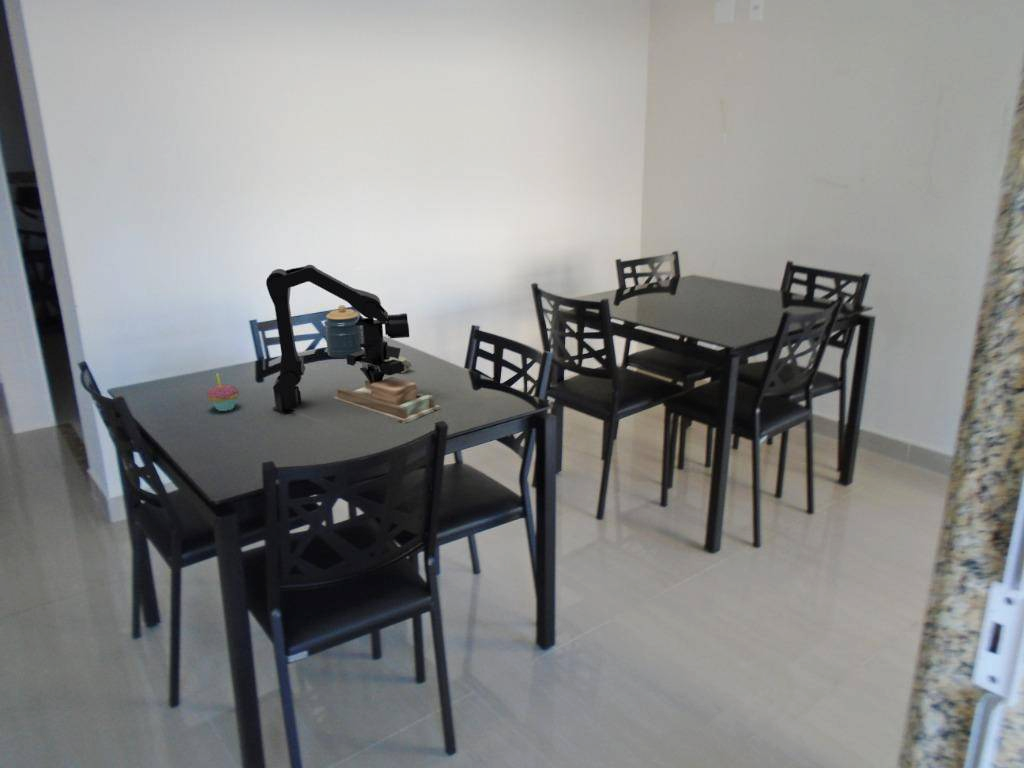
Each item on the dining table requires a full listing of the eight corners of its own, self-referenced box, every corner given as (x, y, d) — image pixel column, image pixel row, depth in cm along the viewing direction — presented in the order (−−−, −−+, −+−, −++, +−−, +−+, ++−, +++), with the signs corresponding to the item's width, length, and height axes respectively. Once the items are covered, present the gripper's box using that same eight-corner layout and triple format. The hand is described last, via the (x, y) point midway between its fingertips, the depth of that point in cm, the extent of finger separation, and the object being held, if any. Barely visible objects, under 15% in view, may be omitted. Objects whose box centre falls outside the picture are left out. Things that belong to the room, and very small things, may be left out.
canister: (366, 357, 261) (362, 307, 255) (328, 360, 257) (323, 310, 251) (362, 347, 272) (358, 300, 267) (326, 350, 269) (321, 302, 263)
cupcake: (235, 413, 210) (230, 373, 206) (205, 414, 209) (198, 374, 205) (244, 403, 218) (238, 364, 214) (214, 404, 217) (208, 365, 213)
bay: (403, 424, 200) (402, 410, 199) (333, 401, 218) (332, 388, 217) (439, 409, 211) (439, 396, 209) (369, 388, 229) (368, 376, 227)
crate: (396, 411, 206) (394, 391, 204) (371, 403, 212) (370, 384, 210) (417, 403, 212) (416, 383, 210) (393, 396, 218) (391, 376, 216)
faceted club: (382, 353, 262) (422, 372, 244) (362, 364, 258) (401, 384, 240) (375, 331, 257) (415, 349, 240) (354, 342, 253) (393, 361, 236)
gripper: (416, 338, 211) (419, 389, 216) (372, 328, 222) (376, 377, 227) (387, 347, 202) (391, 400, 208) (343, 336, 214) (348, 387, 219)
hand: (377, 391), depth 215 cm, fingers closed
